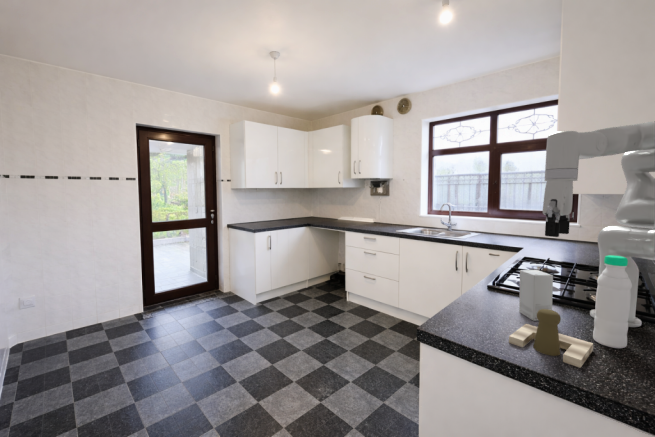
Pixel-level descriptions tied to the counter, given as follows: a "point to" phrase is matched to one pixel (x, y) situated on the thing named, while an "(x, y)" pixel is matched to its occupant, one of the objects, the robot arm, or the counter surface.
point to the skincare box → (535, 292)
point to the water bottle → (612, 303)
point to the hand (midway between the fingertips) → (557, 234)
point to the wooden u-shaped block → (574, 347)
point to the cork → (547, 333)
